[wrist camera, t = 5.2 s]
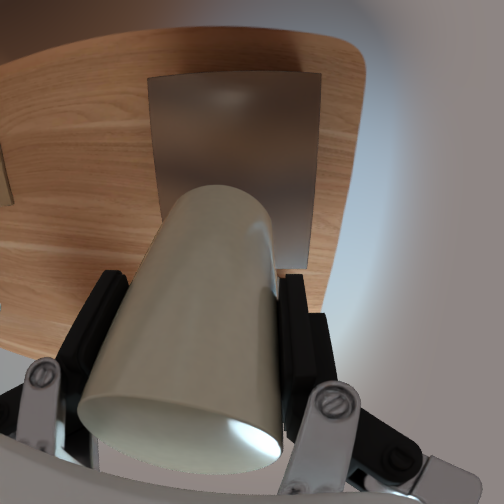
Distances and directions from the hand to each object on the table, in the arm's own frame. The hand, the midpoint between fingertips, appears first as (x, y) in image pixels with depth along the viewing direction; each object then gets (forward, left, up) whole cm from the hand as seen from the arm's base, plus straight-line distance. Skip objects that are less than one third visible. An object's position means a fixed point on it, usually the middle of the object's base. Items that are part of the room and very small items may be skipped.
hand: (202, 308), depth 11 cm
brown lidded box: (0, 0, -24) cm, 24 cm away
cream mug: (0, 0, -5) cm, 5 cm away
